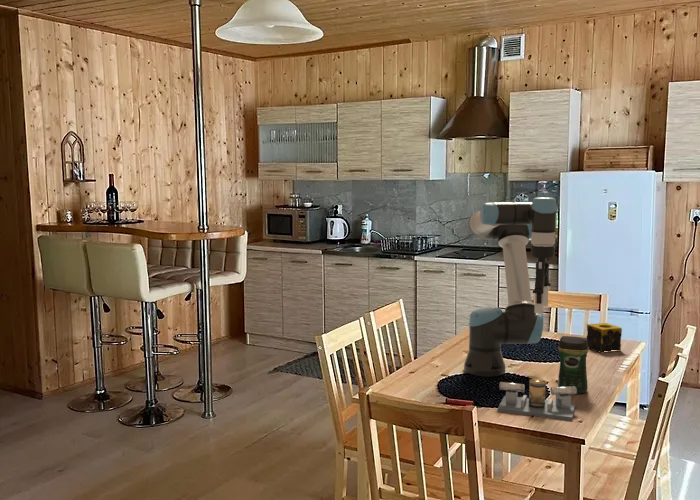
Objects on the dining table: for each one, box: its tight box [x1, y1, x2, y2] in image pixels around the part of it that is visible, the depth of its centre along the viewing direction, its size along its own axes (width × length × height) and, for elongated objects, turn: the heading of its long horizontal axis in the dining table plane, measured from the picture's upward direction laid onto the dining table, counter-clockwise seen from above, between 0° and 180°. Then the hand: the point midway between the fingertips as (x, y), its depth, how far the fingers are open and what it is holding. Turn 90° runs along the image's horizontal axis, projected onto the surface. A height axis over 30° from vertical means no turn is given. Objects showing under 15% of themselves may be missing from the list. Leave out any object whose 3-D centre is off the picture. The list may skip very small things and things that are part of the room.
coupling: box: [528, 378, 547, 408], centre depth 214 cm, size 5×5×8 cm
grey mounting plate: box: [497, 394, 576, 421], centre depth 214 cm, size 22×13×3 cm, turn 68°
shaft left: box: [498, 381, 526, 405], centre depth 217 cm, size 8×4×6 cm, turn 68°
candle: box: [586, 322, 623, 353], centre depth 285 cm, size 10×10×10 cm
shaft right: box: [550, 386, 578, 409], centre depth 213 cm, size 8×4×6 cm, turn 98°
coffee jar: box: [557, 335, 589, 394], centre depth 231 cm, size 10×8×19 cm
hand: (541, 309), depth 225 cm, fingers open, 13 cm apart
